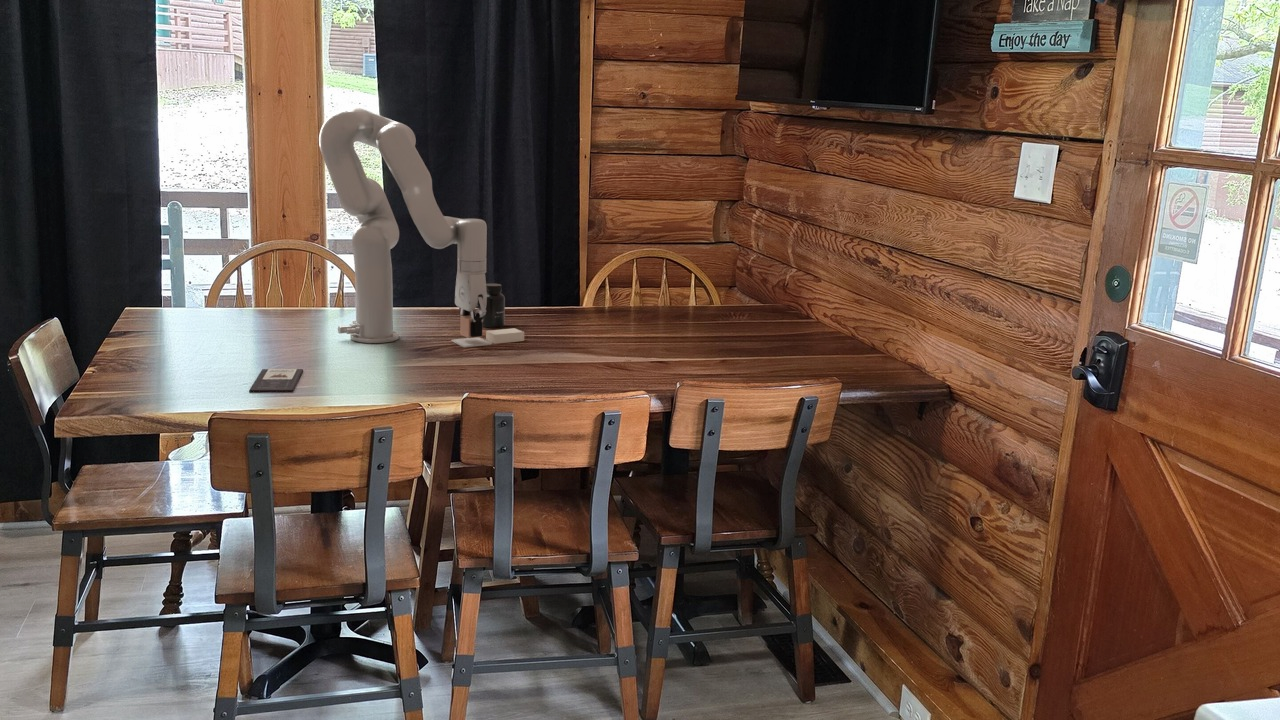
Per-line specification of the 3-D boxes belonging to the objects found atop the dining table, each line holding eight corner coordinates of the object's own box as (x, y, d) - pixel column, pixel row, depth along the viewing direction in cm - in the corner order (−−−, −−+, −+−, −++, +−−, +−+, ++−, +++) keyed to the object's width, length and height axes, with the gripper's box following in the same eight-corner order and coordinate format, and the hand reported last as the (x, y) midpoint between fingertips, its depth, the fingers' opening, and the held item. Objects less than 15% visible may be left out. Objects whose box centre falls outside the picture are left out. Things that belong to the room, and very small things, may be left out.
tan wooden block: (468, 338, 277) (468, 319, 276) (460, 334, 281) (460, 315, 280) (482, 337, 279) (482, 318, 278) (474, 333, 283) (474, 314, 282)
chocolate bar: (249, 390, 226) (262, 369, 244) (249, 394, 227) (262, 373, 244) (292, 389, 228) (302, 369, 245) (293, 394, 228) (303, 372, 245)
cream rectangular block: (494, 343, 281) (494, 334, 280) (485, 340, 284) (486, 330, 284) (524, 340, 286) (524, 331, 285) (515, 337, 290) (515, 327, 289)
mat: (464, 347, 275) (464, 346, 275) (451, 341, 281) (451, 339, 281) (491, 344, 280) (492, 343, 280) (478, 338, 286) (478, 337, 286)
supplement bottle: (502, 328, 299) (503, 287, 296) (478, 327, 299) (478, 286, 296) (506, 323, 306) (506, 283, 303) (482, 322, 306) (483, 282, 303)
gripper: (444, 262, 280) (444, 329, 285) (473, 272, 267) (472, 342, 271) (470, 261, 284) (469, 326, 289) (499, 270, 271) (498, 339, 275)
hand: (471, 333), depth 280 cm, fingers closed on tan wooden block, 5 cm apart
